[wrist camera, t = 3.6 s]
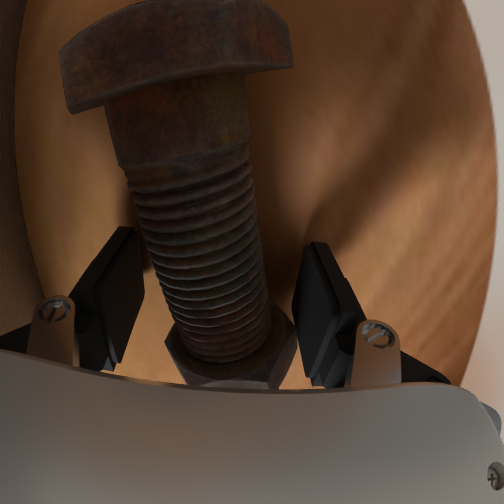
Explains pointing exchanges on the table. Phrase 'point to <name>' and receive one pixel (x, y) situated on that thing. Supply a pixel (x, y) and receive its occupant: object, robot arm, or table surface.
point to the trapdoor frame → (12, 191)
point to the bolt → (193, 170)
